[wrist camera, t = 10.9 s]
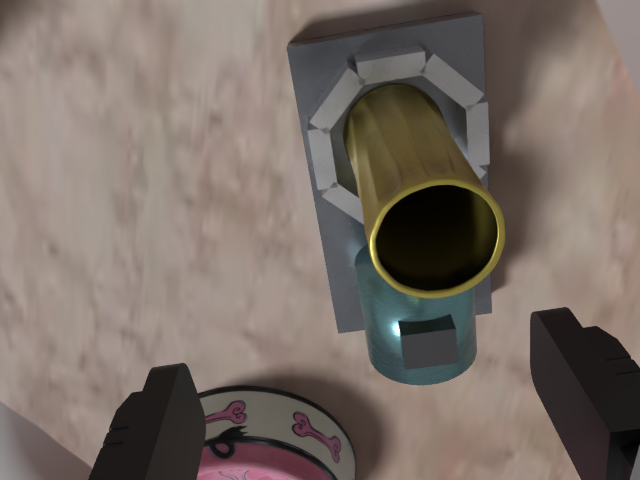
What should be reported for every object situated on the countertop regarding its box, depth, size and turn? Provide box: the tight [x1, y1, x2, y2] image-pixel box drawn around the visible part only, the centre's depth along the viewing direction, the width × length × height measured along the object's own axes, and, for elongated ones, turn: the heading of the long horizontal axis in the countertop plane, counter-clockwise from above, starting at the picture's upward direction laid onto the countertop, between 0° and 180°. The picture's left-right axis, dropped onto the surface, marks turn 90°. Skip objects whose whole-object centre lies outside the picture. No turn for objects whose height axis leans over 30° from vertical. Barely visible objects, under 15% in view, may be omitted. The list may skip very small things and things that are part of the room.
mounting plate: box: [287, 11, 492, 385], centre depth 33 cm, size 20×11×10 cm, turn 9°
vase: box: [343, 85, 506, 298], centre depth 28 cm, size 6×6×14 cm
